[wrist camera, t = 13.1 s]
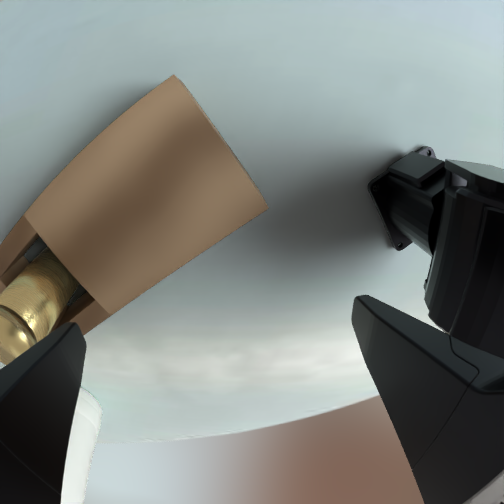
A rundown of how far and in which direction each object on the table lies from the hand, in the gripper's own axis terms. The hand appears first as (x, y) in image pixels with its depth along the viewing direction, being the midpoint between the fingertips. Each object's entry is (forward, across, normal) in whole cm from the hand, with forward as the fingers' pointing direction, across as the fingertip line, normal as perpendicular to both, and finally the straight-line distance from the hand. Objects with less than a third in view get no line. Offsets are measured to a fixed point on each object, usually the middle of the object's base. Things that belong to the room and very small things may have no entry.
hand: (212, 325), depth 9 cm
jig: (+13, +8, 0) cm, 15 cm away
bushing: (+13, +12, +3) cm, 18 cm away
